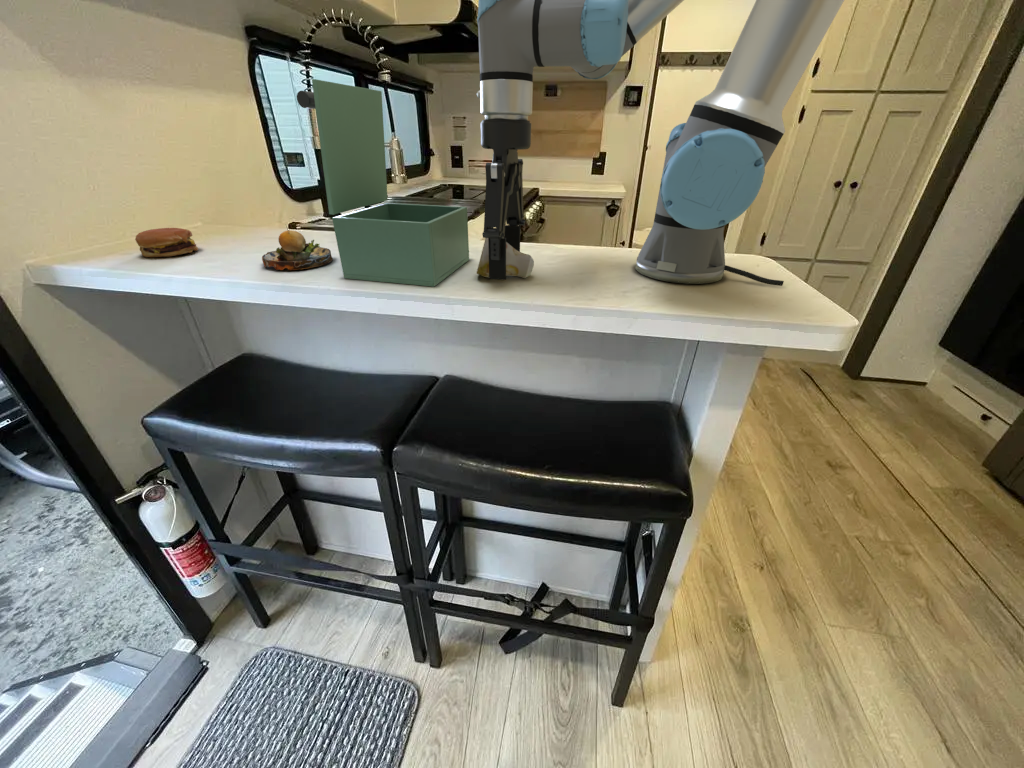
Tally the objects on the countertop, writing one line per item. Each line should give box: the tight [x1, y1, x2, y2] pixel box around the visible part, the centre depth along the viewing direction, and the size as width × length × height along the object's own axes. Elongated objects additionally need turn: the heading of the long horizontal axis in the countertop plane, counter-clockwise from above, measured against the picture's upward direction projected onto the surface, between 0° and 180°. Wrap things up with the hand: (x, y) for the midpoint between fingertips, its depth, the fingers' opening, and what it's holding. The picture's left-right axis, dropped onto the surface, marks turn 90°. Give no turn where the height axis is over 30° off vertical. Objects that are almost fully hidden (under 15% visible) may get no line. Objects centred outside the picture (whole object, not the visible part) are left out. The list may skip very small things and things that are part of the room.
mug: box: [476, 238, 535, 279], centre depth 71 cm, size 8×10×10 cm
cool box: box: [331, 202, 470, 287], centre depth 74 cm, size 17×18×10 cm
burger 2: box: [261, 224, 334, 271], centre depth 77 cm, size 12×12×8 cm
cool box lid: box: [296, 78, 389, 216], centre depth 69 cm, size 17×18×8 cm
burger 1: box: [134, 227, 199, 258], centre depth 82 cm, size 10×9×5 cm
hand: (505, 270), depth 72 cm, fingers open, 9 cm apart
